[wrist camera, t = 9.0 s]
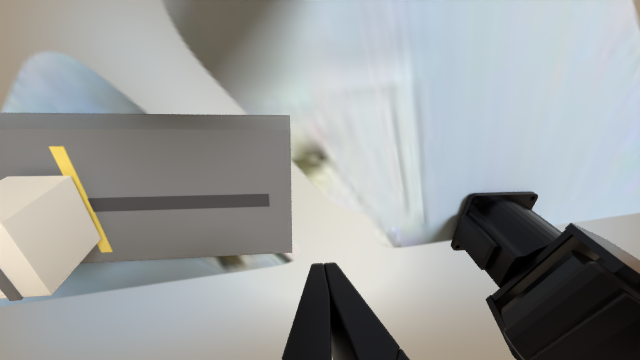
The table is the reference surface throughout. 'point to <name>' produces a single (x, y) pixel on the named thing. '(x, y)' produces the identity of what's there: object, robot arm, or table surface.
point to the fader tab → (41, 234)
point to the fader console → (164, 179)
